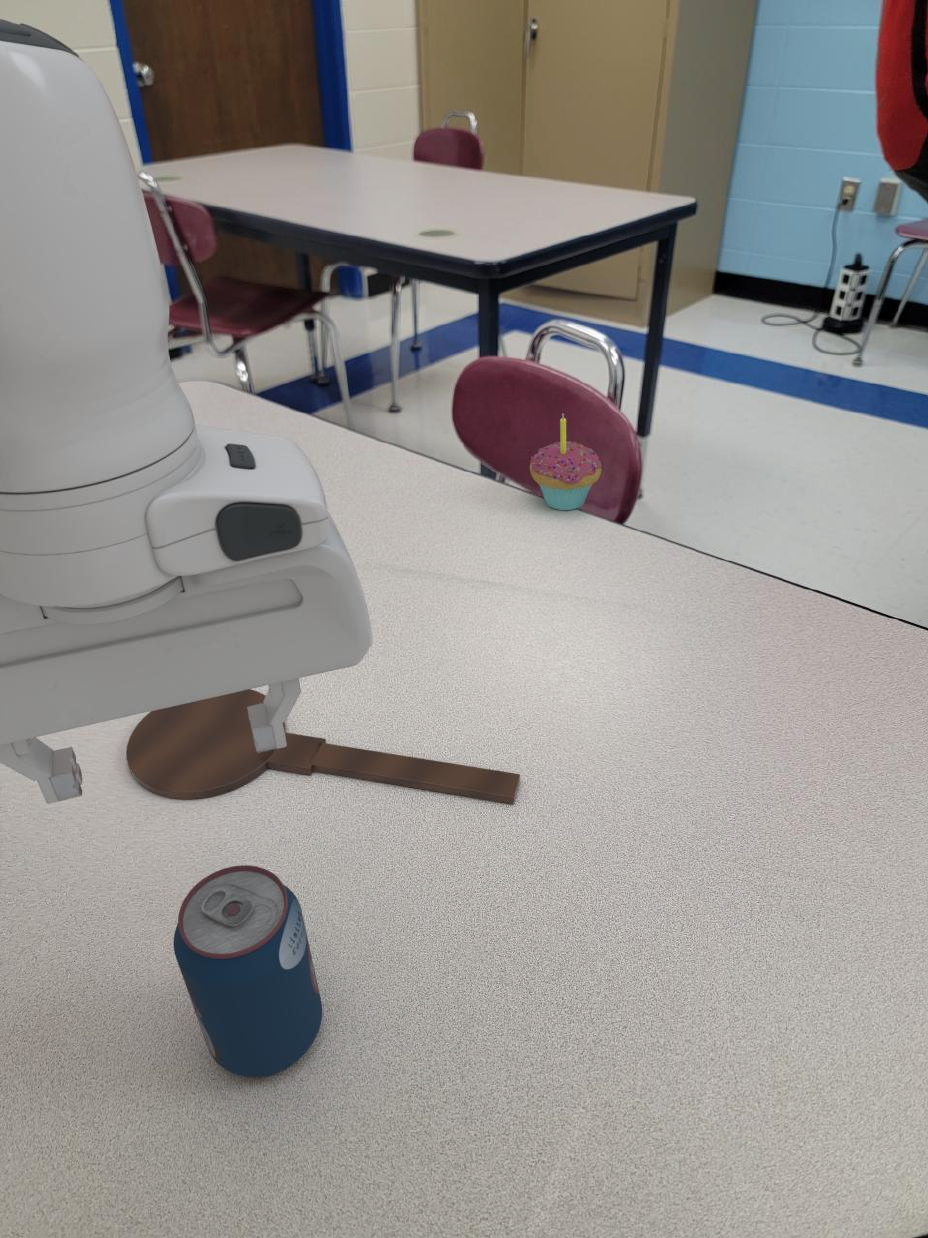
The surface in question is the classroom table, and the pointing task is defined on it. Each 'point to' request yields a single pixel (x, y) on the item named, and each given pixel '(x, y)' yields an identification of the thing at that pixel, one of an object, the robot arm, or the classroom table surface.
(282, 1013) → the soda can
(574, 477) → the cupcake
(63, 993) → the classroom table surface
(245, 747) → the serving spoon
